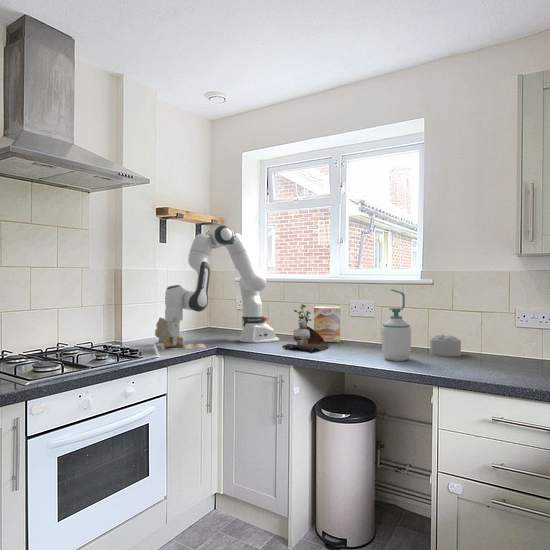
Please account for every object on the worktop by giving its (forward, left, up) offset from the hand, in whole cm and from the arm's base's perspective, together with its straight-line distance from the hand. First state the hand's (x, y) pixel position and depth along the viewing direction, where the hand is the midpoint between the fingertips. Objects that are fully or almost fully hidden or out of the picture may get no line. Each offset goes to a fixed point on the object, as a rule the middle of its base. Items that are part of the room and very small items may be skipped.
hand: (173, 343), depth 217 cm
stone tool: (+3, -20, -3) cm, 20 cm away
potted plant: (-66, +20, -3) cm, 69 cm away
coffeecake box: (-86, +2, -3) cm, 86 cm away
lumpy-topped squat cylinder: (-119, +59, -3) cm, 133 cm away
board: (-5, 0, -3) cm, 6 cm away
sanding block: (0, 0, -1) cm, 1 cm away
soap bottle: (-91, +61, -3) cm, 110 cm away
